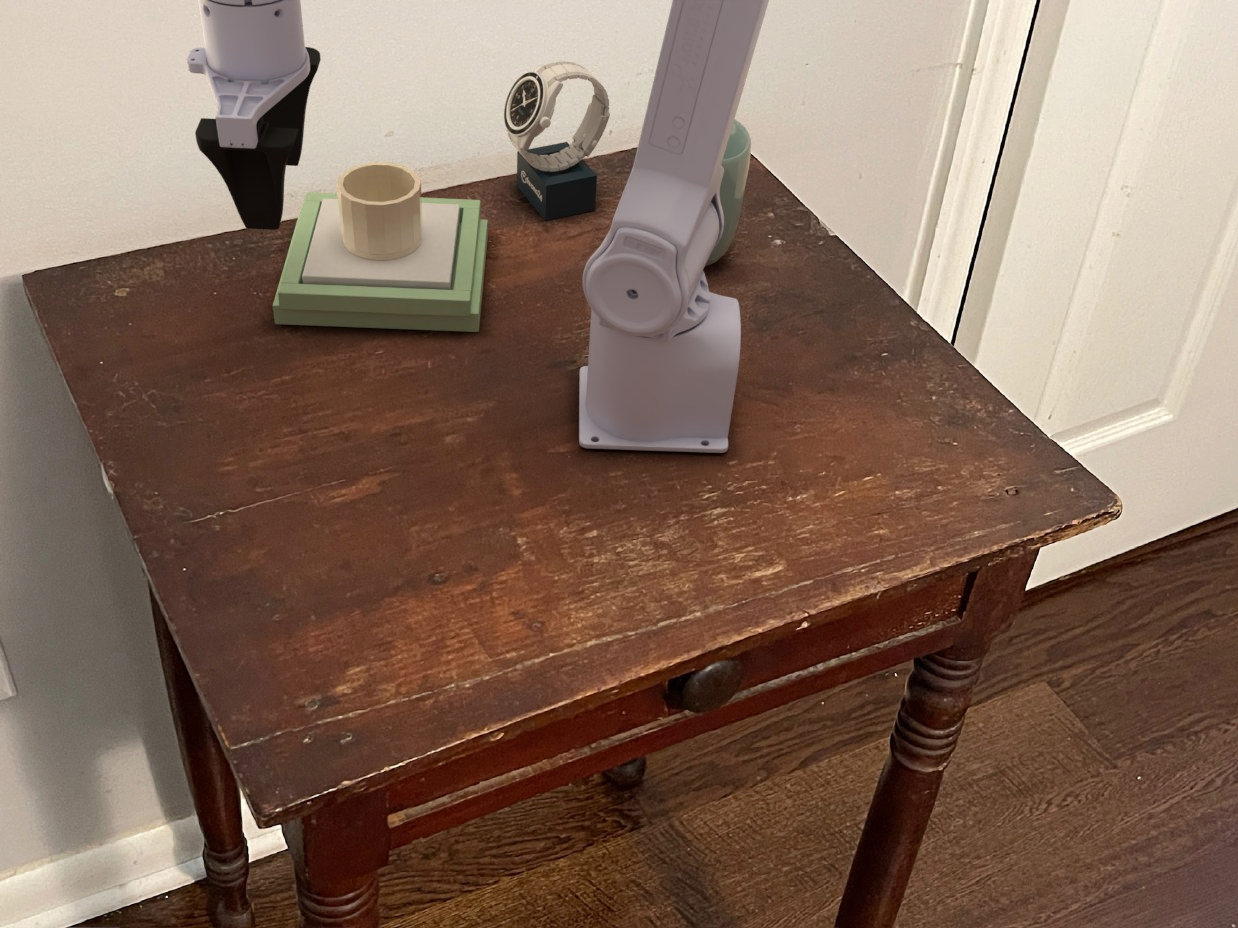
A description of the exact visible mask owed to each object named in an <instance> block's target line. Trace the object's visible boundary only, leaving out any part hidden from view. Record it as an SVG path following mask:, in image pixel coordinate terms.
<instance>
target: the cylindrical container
mask: <svg viewBox="0 0 1238 928" xmlns="http://www.w3.org/2000/svg"><path fill="white" fill-rule="evenodd" d="M336 191H337V192H336V194H338V204H339V216H340V227H341V235H342V241H343V244H344V246H345V248H346V249H347V250H348V251H350V252H351V253H353V254H354V255H356V256H359V257H362V258H365V259H370V260H393V259H398V258H401V257H404V256H407V255H409V254H411V253H412V252H414V251H415V250H416V249H417V248H418V247H419V246H420V244H421V242H422V231H423V225H422V200H421V197H422V181H421V179H420V177H419V175H418V174H417V172H416V171H414V170H412V169H411V168H409V167H408V166H405V165H403V164H398V163H394V162H387V161H372V162H371V161H370V162H365V163H360V164H356V165H355V166H353V167H350V168H347V169H345V171H343V173H342V174H340V175H339V177H338V180H337V183H336Z"/></svg>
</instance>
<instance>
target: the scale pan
mask: <svg viewBox="0 0 1238 928" xmlns="http://www.w3.org/2000/svg"><path fill="white" fill-rule="evenodd" d="M422 225H423V231H422V242H421V244H420V246H419V247H418V248H417V249H416V250H415V251H414V252H412V253H411V254H409V255H407V256H404V257H401V258H398V259H393V260H370V259H365V258H362V257H359V256H356V255H354V254H353V253H351V252H350V251H348V250H347V249H346V248H345V246H344V244H343V241H342V235H341V227H340V216H339V204H338V199H323V201H322V204H321V208H320V212H319V216H318V219H317V223H316V227H315V230H314V234H313V238H312V242H311V245H310V249H309V253H308V257H307V260H306V264H305V268H304V271H303V275H302V279H303V284H317V285H341V286H365V287H390V288H414V289H438V290H452V282H453V274H454V266H455V258H456V250H457V242H458V234H459V226H460V205H458V204H436V203H422Z"/></svg>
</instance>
